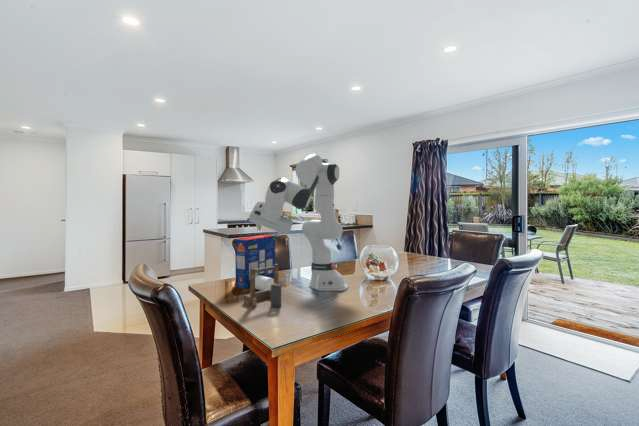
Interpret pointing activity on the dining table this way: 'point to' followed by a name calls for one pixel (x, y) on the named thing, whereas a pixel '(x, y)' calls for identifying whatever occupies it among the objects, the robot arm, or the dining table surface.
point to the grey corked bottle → (275, 295)
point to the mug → (263, 282)
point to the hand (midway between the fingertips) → (268, 232)
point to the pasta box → (253, 257)
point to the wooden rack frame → (256, 296)
